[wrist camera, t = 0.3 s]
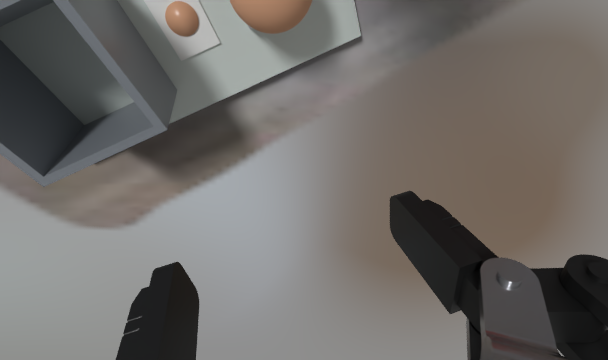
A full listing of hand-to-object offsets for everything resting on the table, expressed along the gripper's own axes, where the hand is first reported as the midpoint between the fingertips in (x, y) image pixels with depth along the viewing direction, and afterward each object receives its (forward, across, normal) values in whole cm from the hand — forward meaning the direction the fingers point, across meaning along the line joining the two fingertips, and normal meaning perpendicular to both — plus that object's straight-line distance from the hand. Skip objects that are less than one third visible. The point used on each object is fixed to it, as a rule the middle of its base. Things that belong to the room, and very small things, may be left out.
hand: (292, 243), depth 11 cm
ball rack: (+21, +4, -7) cm, 22 cm away
